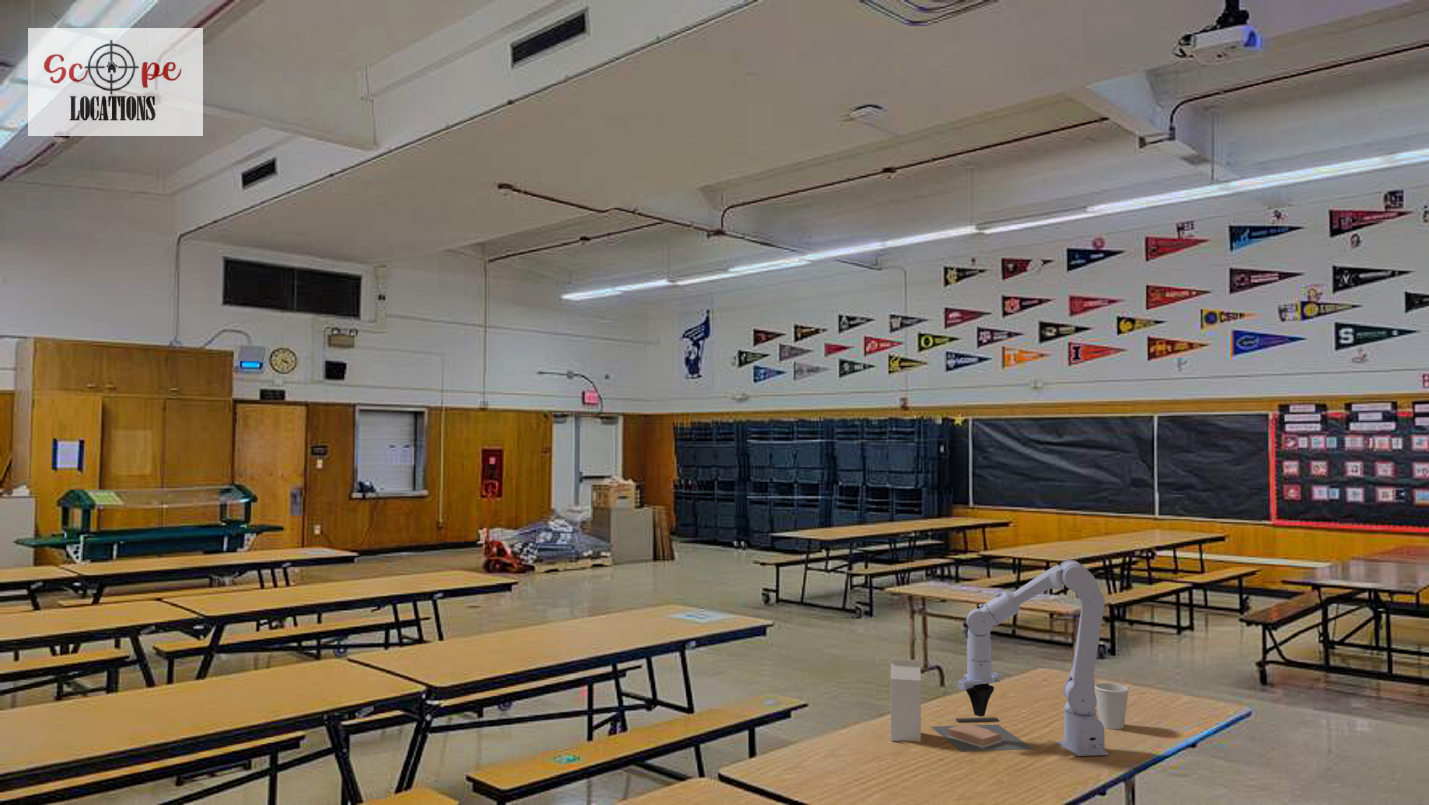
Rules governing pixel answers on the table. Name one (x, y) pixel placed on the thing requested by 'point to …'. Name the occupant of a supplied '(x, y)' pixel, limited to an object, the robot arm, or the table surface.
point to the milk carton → (905, 700)
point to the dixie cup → (1111, 704)
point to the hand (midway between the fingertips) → (979, 715)
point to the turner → (977, 719)
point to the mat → (1006, 744)
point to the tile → (974, 735)
